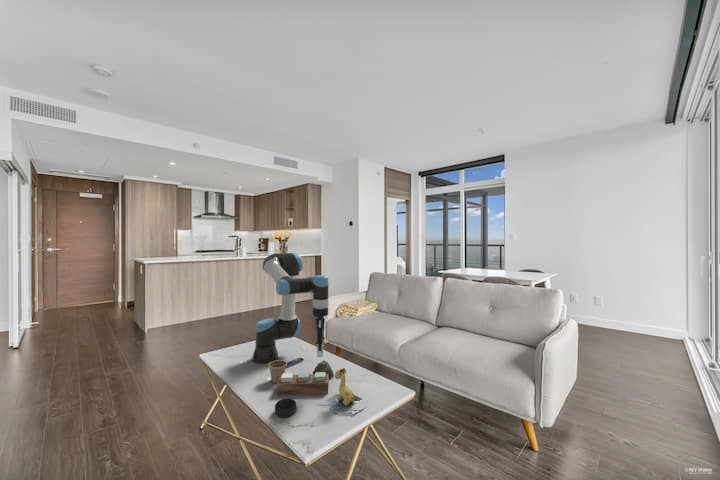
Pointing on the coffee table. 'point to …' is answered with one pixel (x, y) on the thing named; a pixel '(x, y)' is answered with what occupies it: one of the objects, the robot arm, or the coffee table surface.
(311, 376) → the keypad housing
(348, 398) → the stuffed giraffe
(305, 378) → the slate grey key
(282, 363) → the flower pot
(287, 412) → the smart speaker
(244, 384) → the coffee table surface
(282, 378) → the cream key
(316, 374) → the sage green key
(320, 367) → the fossil
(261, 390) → the coffee table surface
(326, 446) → the coffee table surface
